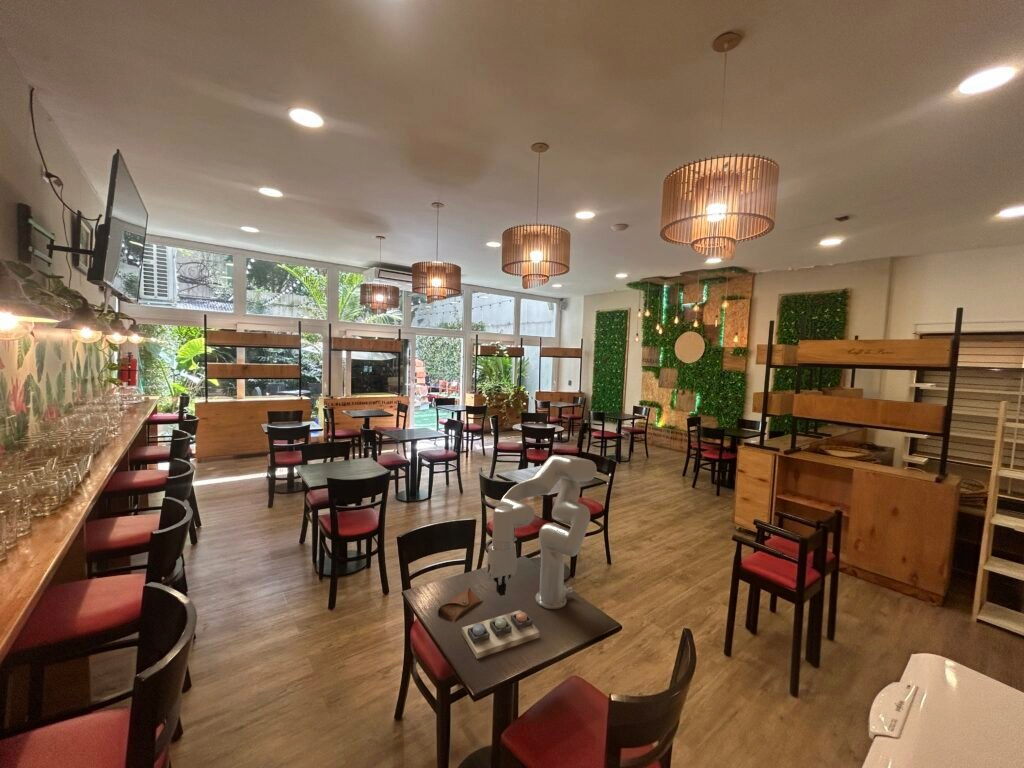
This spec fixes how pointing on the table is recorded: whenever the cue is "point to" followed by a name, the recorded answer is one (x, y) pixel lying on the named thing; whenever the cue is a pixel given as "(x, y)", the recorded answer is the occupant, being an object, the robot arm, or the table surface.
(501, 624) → the sage button
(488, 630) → the button panel
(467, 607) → the sunglasses case
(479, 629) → the slate button
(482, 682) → the table surface
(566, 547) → the robot arm
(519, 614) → the terracotta button
